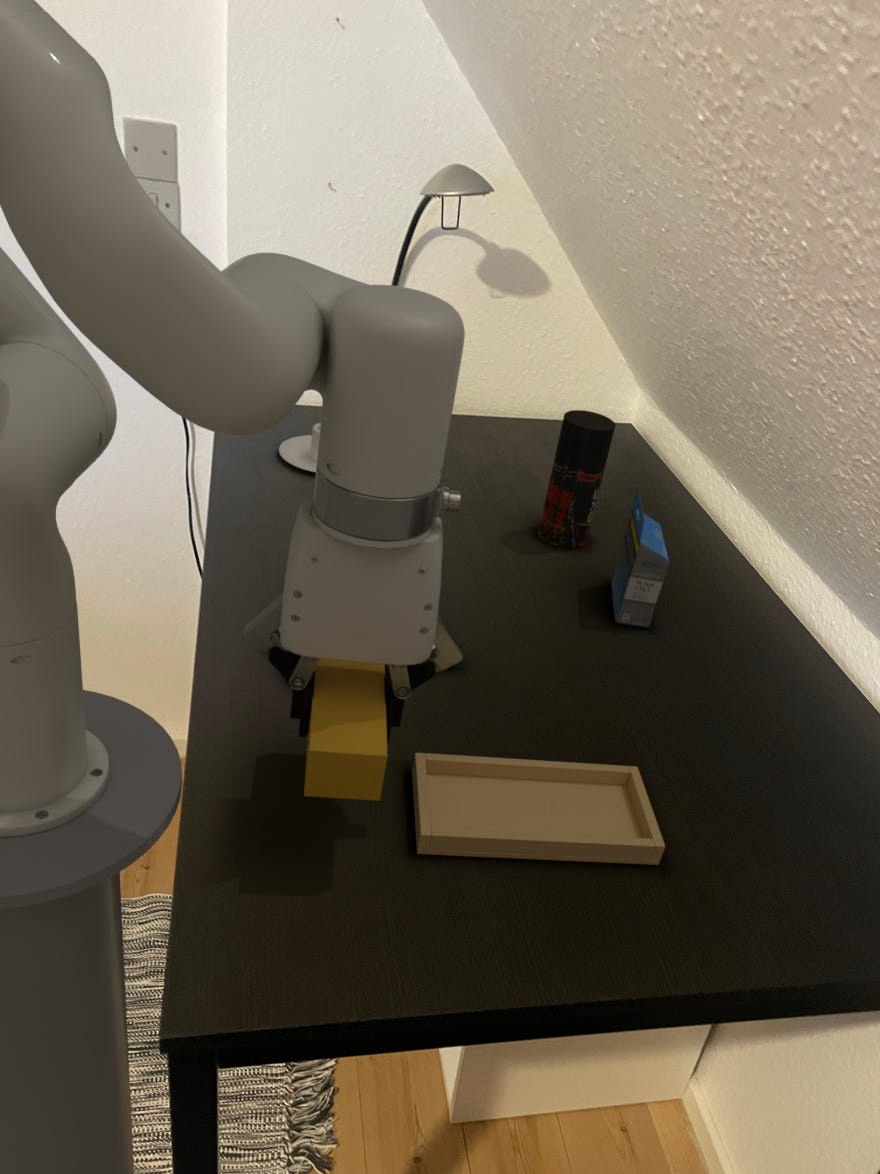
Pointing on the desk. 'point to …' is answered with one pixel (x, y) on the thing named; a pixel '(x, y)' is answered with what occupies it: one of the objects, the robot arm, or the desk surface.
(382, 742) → the block
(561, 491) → the deodorant
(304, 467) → the candle holder
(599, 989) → the desk surface
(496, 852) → the slot tray
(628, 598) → the blue white box
